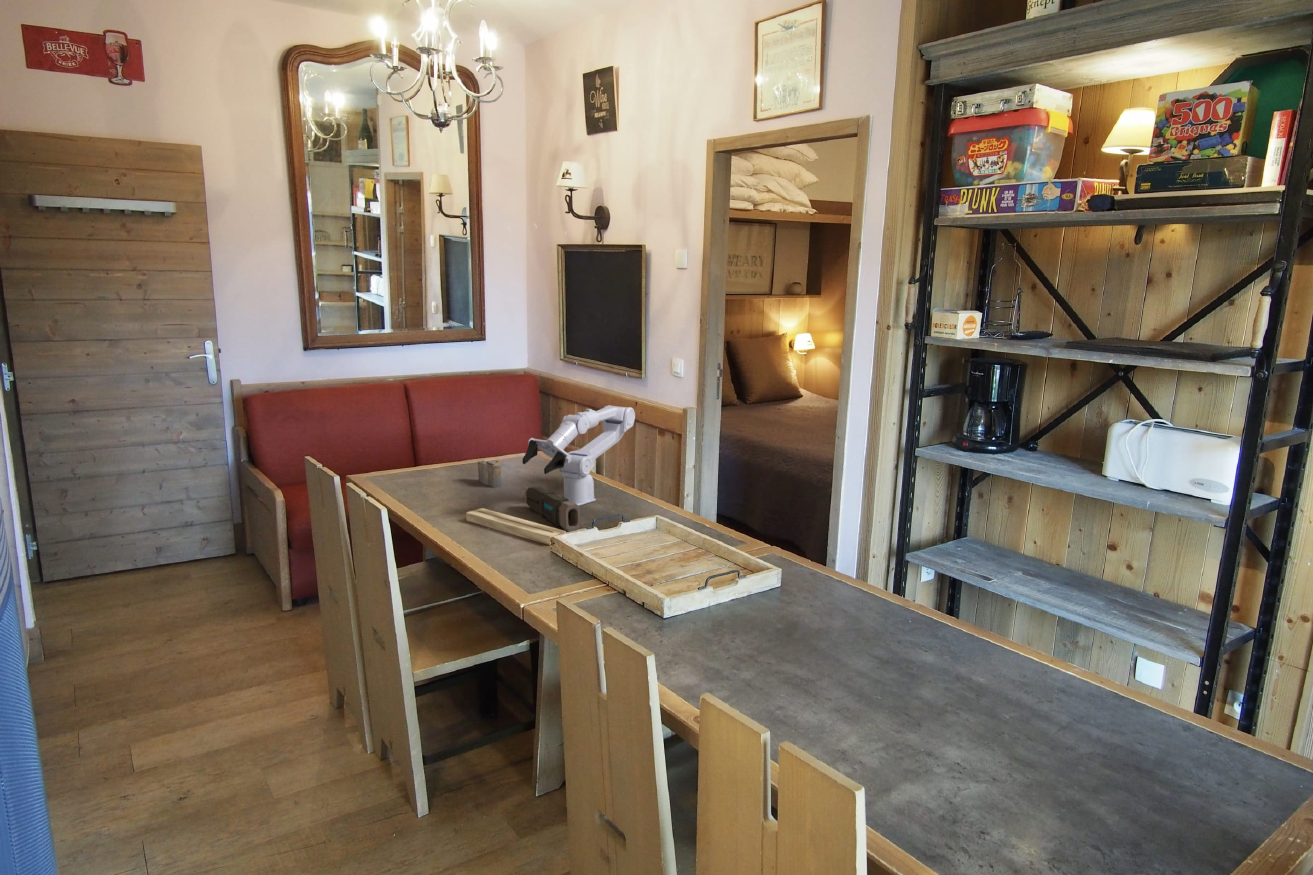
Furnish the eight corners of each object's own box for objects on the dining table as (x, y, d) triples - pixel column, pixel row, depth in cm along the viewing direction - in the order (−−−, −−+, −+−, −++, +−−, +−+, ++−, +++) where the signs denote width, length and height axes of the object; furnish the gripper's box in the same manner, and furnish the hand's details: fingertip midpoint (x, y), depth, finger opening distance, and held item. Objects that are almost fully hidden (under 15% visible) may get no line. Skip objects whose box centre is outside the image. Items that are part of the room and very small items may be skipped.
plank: (482, 515, 247) (482, 507, 246) (566, 539, 225) (565, 530, 224) (466, 520, 242) (466, 512, 242) (550, 545, 220) (550, 536, 220)
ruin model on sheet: (502, 487, 281) (501, 460, 279) (494, 489, 279) (493, 461, 277) (486, 481, 289) (485, 454, 287) (478, 482, 287) (477, 455, 285)
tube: (543, 513, 259) (588, 526, 234) (525, 522, 255) (568, 536, 230) (533, 482, 256) (577, 491, 231) (514, 490, 253) (557, 500, 228)
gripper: (539, 422, 249) (513, 447, 240) (579, 439, 245) (554, 466, 236) (539, 439, 254) (514, 464, 245) (579, 456, 250) (554, 483, 241)
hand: (534, 466), depth 241 cm, fingers open, 7 cm apart
